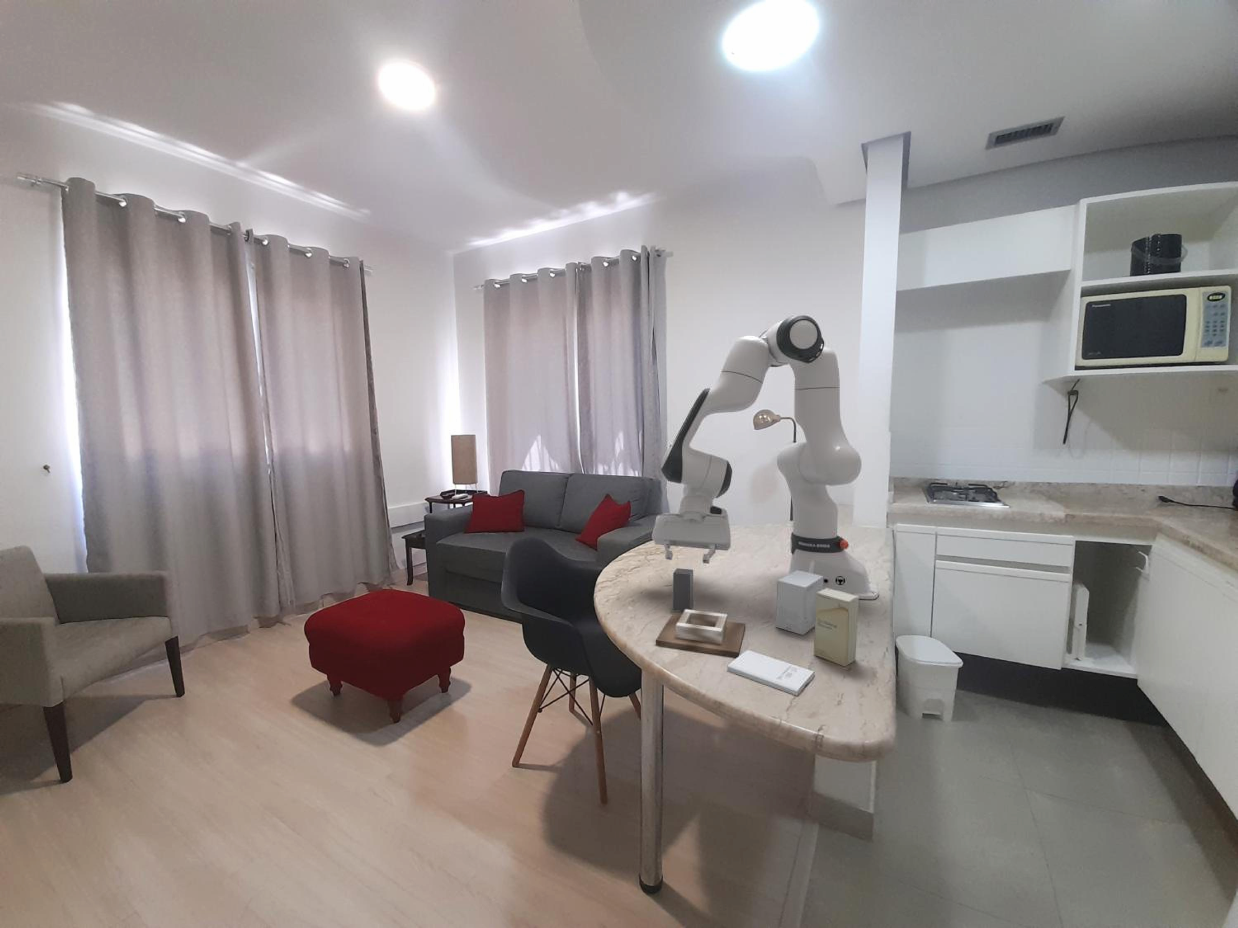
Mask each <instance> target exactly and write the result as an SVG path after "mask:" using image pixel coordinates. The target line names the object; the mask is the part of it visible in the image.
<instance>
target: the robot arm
mask: <svg viewBox="0 0 1238 928" xmlns="http://www.w3.org/2000/svg"><path fill="white" fill-rule="evenodd" d="M786 365H787V366H788V365H789V366H790V368H791V370H792V373H793V376H794V377H793V378H794V389H793V390H794V397H793V398H794V403H793V404H794V407H793V409H794V411H793V413H794V415H793V418H794V421H795V422H796V423H797V425H798V426H799V427H800V428H801V429H802V432H803V433H804V438H805V441H796V442H793V443H790V444H787V445H785V446H783V447H782V448H781V449H780V451H779V452H778V455H777V459H776V465H777V469H778V470H779V472H780V473H781V474H782V476H783V477H784V480H785V482H786V484H787V486H788V491H789V494H790V497H791V502H792V532H791V534H790V542H789V543H790V548H789V549H790V553H791V557H790V564H789V565H790V566H789V569H788V573H787V575H789V574H791V573H793V572H794V571H796V570H799V571H803V572H808V573H812V574H816V575H821V576H823V589H825V588H829V589H833V590H837V591H841V592H845V593H848V594H852V595H856V596H859V600H875V599H877V598H878V596H879V589H878V587H877V586H876V585H875V584H874V583H873V582H871V581H869V575H868V571H867V569H866V568H865V566H864V564H862V563H861V562H860V561H859V560H858V559H856V558H855V557H854V556H853V555H852V554H850V553H849V552H848V551H847V549H849V547H850V544H849V542H848V540H846V538H843V537H842V536H840V535H839V534H838V516H839V515H838V511H839V510H838V506H837V504H836V503H835V501H834V500H833V498H831V496H830V494H829V492H828V489H827V486H830V487H831V486H832V487H833V486H843V485H848V484H851V483H853V482H854V481H856V480H857V478H858V477H859V475H860V473H861V470H862V465H863V464H862V459H861V456H860V453H859V452H858V450H856V448H854V447H853V446H852V445H851V443H850V441H849V440H848V439H847V436H846V433H845V431H844V427H843V425H842V420H841V402H840V401H841V400H840V399H841V397H840V396H841V394H840V392H841V391H840V390H841V389H840V388H841V384H840V383H841V381H840V380H841V379H840V370H839V369H840V368H839V363H838V358H837V354H836V353H835V351H834V350H832V348H829V347H827V346H825V341H824V338H823V336H822V330H821V327H820V326H819V324H818V323H817V321H816V320H815V319H814V318H812V317H810V316H808V315H805V314H804V315H803V314H796V315H791V316H789V317H787V318H785V319H783V320H781V321H778V322H776V323H774V324H773V325H772V326H771V327H770V328H768V329H767V330H765V331H764V332H763V333H761V334H760V336H754V335H744V336H741V337H739V338H738V339H737V340H735V342H734V343H733V345H732V347H731V349H730V351H729V353H728V355H727V357H726V359H725V361H724V364H723V367H722V369H721V372H720V375H719V377H718V379H717V380H716V382H715V383H714V384H713V385H712V386H711V387H709V388H704V389H703V390H701V392H700V394H699V395H698V397H696V400H695V401H694V403H693V405H692V406H691V409H690V410H689V412H688V414H687V416H686V418H685V419H684V422H683V423H682V425H681V427H680V429H679V431H678V432H677V435H676V436H675V438H674V440H673V442H672V444H671V445H670V446H669V448H668V449H667V450H666V452H665V454H664V455H663V458H662V461H661V465H660V471H661V473H662V475H663V477H664V478H665V479H666V480H667V481H668V482H670V483H675V484H682V485H683V490H682V494H683V497H682V498H681V501H680V503H679V504H680V505H679V509H678V513H674V512H673V513H672V512H671V513H669V512H662V513H661V514H658V515H657V516H656V517H655V522H654V523H655V524H654V527H653V530H652V531H651V532H652V533H651V538H652V541H653V542H654V544H655V545H659V546H660V545H661V546H664V549H665V555H664V557H665V560H669V561H672V560H673V556H674V553H673V550H669V549H671V547H681V548H691V549H701V550H702V549H703V550H704V549H705V550H709V551H708V552H707V553H703V555H702V563H703V564H708V565H709V564H710V561H711V558H712V557H713V556H714V555H715V554H716V550H717V551H729V550H730V549H731V548H732V535H731V527H730V522H729V516H728V512H727V510H726V508H723V507H720V506H716V505H714V504H713V503H714V500H715V499H718V498H720V497H722V496H724V494H726V493H727V492H728V491H729V488H730V485H731V483H732V475H733V469H732V465H731V464H730V462H729V461H728V460H727V459H725V458H722V457H719V456H717V455H714V454H710V453H707V452H704V451H701V450H697V449H694V448H692V447H691V446H690V445H691V443H692V441H693V439H694V438H695V435H696V433H697V431H698V429H700V425H701V424H702V422H703V420H704V419H705V418H707V417H708V416H710V415H713V414H721V413H736V412H742V411H744V410H747V409H749V408H750V407H752V406H753V405H754V403H756V401H757V399H758V397H759V395H760V392H761V390H762V387H763V384H764V381H765V377H766V374H767V372H768V371H769V368H777V367H779V368H780V367H783V366H786Z"/></svg>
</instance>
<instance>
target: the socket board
mask: <svg viewBox="0 0 1238 928" xmlns="http://www.w3.org/2000/svg"><path fill="white" fill-rule="evenodd" d="M682 612H683V613H682V614H674V613H673V614H671V615H670V617H669V619H668V620H667V622H666V623H665V625H664V626H663V628H662V630H661V631H660V633H659V634H658V636H657V638H656V639H655V645H656V646H660V647H666V648H673V649H680V650H685V651H691V652H692V651H693V652H700V653H706V654H712V655H713V654H714V655H719V656H724V657H730V658H731V657H732V658H733V657H734V658H738V657H739V656H740V653H741V649H742V644H743V639H744V635H745V631H746V623H743V622H737V621H729V620H728V614H727V613H718V612H712V611H702V610H696V609H691V610H688V609H685V611H682Z"/></svg>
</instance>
